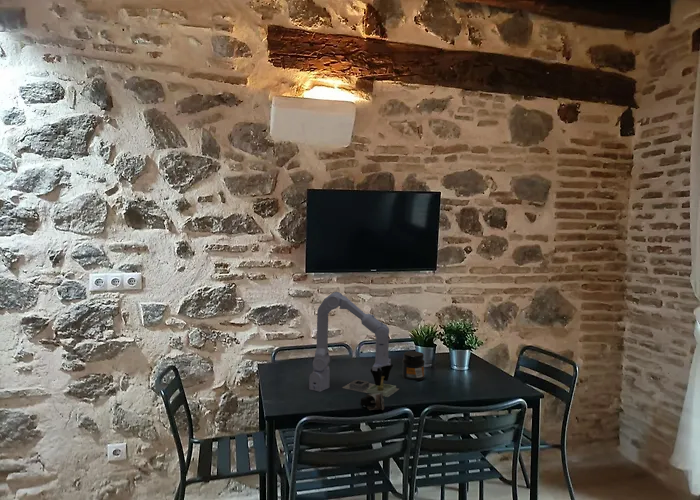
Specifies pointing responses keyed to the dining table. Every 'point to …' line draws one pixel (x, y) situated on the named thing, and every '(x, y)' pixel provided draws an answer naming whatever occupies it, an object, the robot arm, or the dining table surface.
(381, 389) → the lock pin
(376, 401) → the caster wheel
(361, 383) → the tensioner collar
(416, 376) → the supplement container
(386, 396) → the plate
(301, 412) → the dining table surface
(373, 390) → the tray
